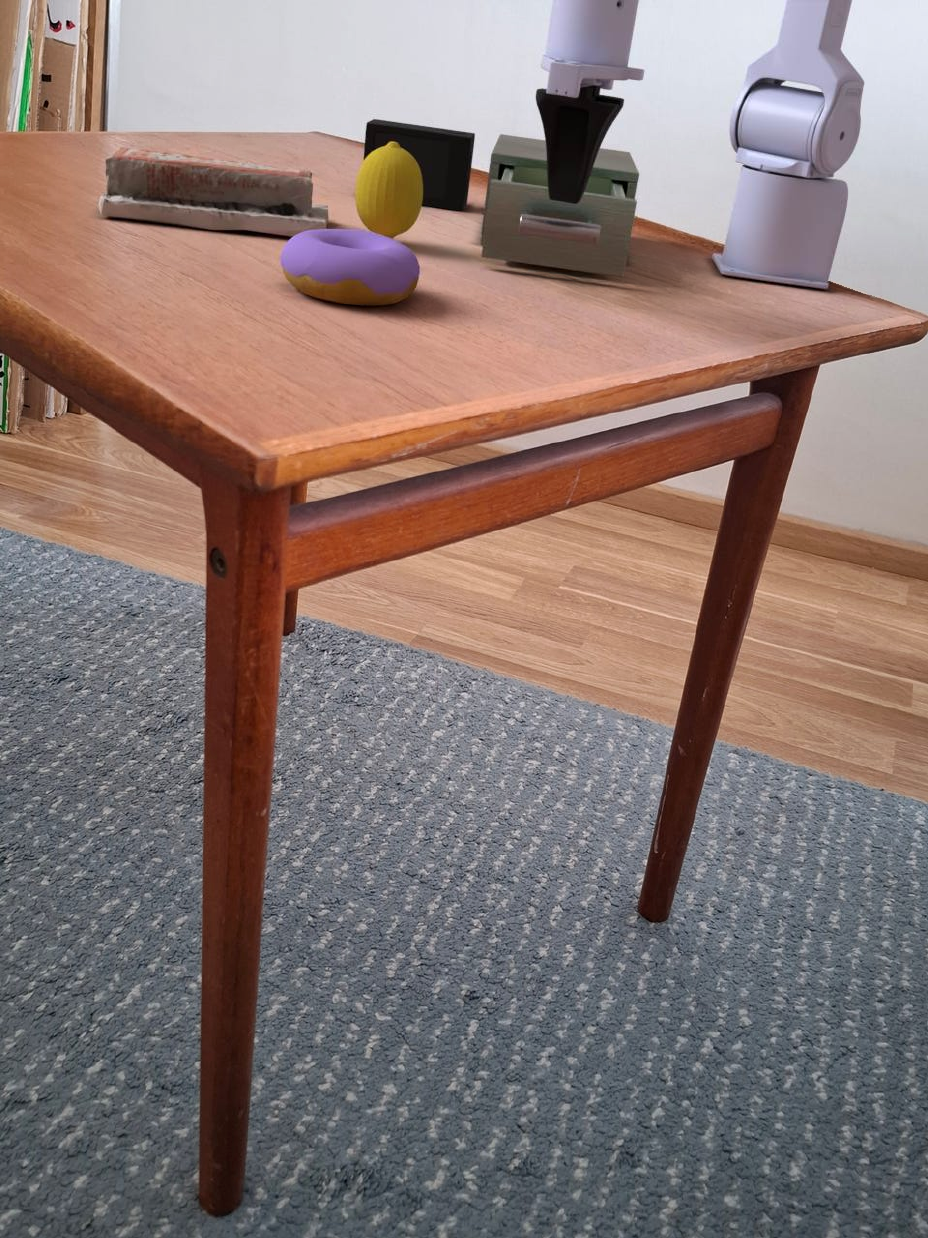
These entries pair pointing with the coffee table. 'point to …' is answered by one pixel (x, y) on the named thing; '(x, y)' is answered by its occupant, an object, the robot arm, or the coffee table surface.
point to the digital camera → (430, 158)
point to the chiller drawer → (558, 224)
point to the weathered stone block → (209, 193)
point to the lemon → (389, 191)
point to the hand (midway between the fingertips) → (564, 200)
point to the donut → (350, 266)
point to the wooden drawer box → (535, 157)
